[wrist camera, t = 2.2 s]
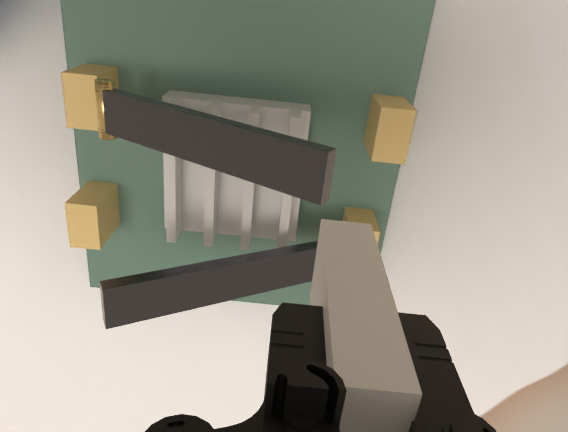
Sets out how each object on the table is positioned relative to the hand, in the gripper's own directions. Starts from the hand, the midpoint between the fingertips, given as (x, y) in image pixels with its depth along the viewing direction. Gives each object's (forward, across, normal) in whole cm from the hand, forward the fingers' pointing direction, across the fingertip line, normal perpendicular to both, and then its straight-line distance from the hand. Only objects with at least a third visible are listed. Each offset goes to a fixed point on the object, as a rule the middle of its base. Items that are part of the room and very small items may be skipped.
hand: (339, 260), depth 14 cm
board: (+19, -5, -4) cm, 20 cm away
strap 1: (+10, -6, 0) cm, 12 cm away
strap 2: (+11, -4, -8) cm, 14 cm away
